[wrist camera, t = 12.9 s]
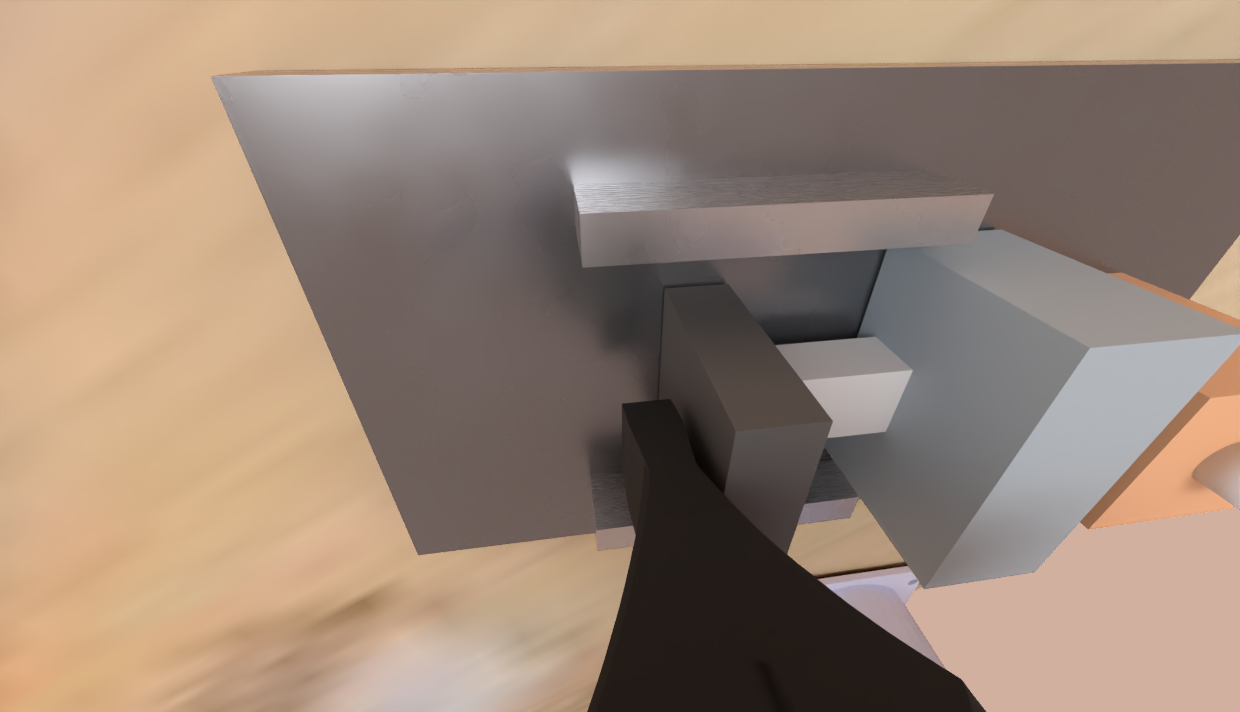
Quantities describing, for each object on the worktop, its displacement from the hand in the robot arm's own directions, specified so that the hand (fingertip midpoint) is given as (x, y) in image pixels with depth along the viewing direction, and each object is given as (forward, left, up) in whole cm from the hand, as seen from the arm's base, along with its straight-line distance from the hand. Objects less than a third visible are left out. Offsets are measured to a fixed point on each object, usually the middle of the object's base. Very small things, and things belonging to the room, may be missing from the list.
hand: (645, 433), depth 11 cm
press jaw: (0, -5, -2) cm, 6 cm away
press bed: (0, -5, -4) cm, 6 cm away
